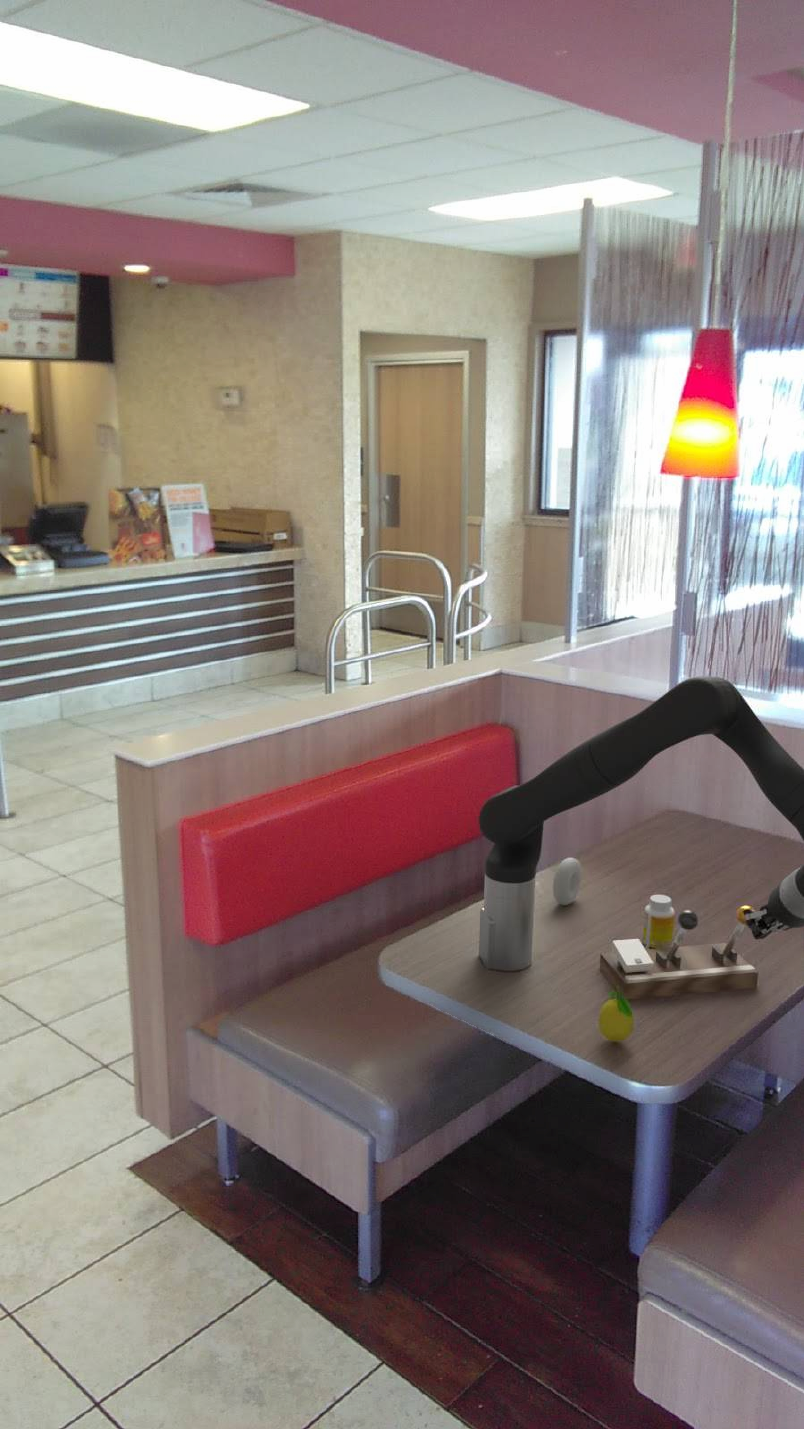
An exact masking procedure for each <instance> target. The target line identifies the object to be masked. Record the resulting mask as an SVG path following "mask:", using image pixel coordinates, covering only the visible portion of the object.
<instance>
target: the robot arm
mask: <svg viewBox="0 0 804 1429" xmlns="http://www.w3.org/2000/svg"><path fill="white" fill-rule="evenodd" d="M703 735H704V736H706V735H712V736H715V738H717V739H719V740H720V741H721V742H722V743H724V744H725V745H727V747H729V748H730V749H731V750H732V751H733V752H734V753H735V754H736V755H737V756H738V757H739V758H740V759H741V760H742V762H743V763H744V764H745V766H746V767H747V769H748V770H749V772H750V773H751V775H752V777H753V779H754V780H755V782H756V784H757V785H758V787H759V789H760V790H761V791H762V793H763V795H764V796H765V797H766V798H767V799H768V801H769V802H770V803H771V804H772V805H773V807H775V808H776V810H778V812H779V813H780V814H781V815H782V816H783V817H784V818H785V819H786V820H787V821H788V822H789V823H790V824H791V825H792V826H793V827H794V828H795V829H796V830H797V832H798V834H799V835H800V837H801V839H802V840H803V842H804V768H803V767H802V765H800V764H799V763H798V762H797V761H796V760H795V759H794V757H792V756H791V754H789V753H788V752H787V751H786V750H785V749H784V747H783V746H782V745H781V744H780V743H779V742H778V740H776V738H775V737H774V736H773V735H772V733H771V732H769V730H768V729H767V728H766V726H765V725H764V724H763V722H762V721H761V720H760V719H759V717H758V716H757V715H756V713H755V712H754V710H753V709H752V708H751V706H750V705H749V704H748V702H747V701H746V700H745V698H744V697H743V695H742V694H741V692H740V691H739V690H738V689H737V688H736V687H735V685H733V683H732V682H730V681H729V680H727V679H725V678H723V677H719V676H708V675H707V676H706V675H705V676H704V675H703V676H701V675H700V676H699V675H698V676H697V675H695V676H693V677H688V678H686V679H684V680H683V681H681V682H679V683H678V684H676V685H674V687H672V688H671V689H669V690H668V691H666V693H664V694H662V696H660V697H659V698H657V699H656V700H655V701H653V703H651V704H650V705H648V706H647V707H646V708H644V709H642V710H641V711H640V712H638V713H636V714H634V715H633V716H631V717H629V718H626V719H625V720H622V721H621V722H618V723H617V724H614V725H613V726H611V727H609V728H607V729H606V730H603V731H601V732H599V733H597V734H595V735H594V736H592V737H591V738H589V739H588V740H586V741H584V742H582V743H580V744H579V745H577V746H576V747H574V748H572V749H571V750H570V751H568V752H566V754H565V753H564V755H562V756H561V757H560V758H557V760H556V761H555V762H553V763H551V764H550V765H549V766H548V767H546V768H545V769H544V770H542V771H541V772H539V774H537V775H536V776H535V777H532V778H531V779H530V780H528V781H527V782H524V783H522V784H521V785H513V786H511V787H507V788H506V789H503V790H502V791H500V792H498V793H497V794H494V795H492V796H491V797H490V798H488V799H486V801H485V802H484V804H483V805H482V807H481V809H480V810H479V815H478V826H479V830H480V832H481V834H482V835H483V836H484V837H485V838H486V839H487V840H488V841H490V842H492V843H493V846H492V848H491V850H490V852H489V853H488V855H487V856H486V859H485V865H484V888H483V889H484V892H483V893H484V894H483V907H481V908H480V911H479V937H478V939H479V941H478V956H479V958H480V959H481V961H482V962H483V964H484V966H485V967H486V969H487V970H498V971H505V972H515V971H521V970H525V969H526V968H528V967H530V965H531V963H532V960H533V959H532V958H533V957H532V956H533V940H534V939H533V936H534V916H535V914H534V913H535V894H536V893H535V892H536V873H537V866H538V864H539V861H540V858H541V856H542V855H541V854H542V844H543V834H544V822H545V821H547V820H549V819H551V818H552V817H554V816H556V815H559V814H561V813H563V812H565V811H569V810H571V809H573V808H576V807H578V806H581V805H583V804H585V803H587V802H588V803H589V802H590V801H592V800H594V799H596V798H598V797H601V796H603V795H605V794H607V793H608V792H610V791H612V790H614V789H615V788H618V787H620V786H622V785H624V784H625V783H627V781H629V780H631V779H632V778H633V777H635V776H636V775H637V774H638V773H640V771H642V770H643V768H645V766H646V765H647V764H648V763H649V762H651V760H652V759H653V758H654V757H655V756H657V755H658V754H660V753H662V752H663V751H665V750H667V749H669V748H672V747H674V746H675V745H678V744H680V743H682V742H685V741H687V740H690V739H692V738H695V737H699V736H703ZM754 910H755V909H754ZM754 910H753V911H751V910H750V909H746V910H744V911H743V914H744V917H745V920H746V924H747V925H746V926H747V927H748V928H749V929H750V930H751V934H752V937H753V938H754V939H755V940H764V939H765V938H767V937H768V936H769V935H771V934H772V933H777V932H779V931H780V930H782V931H788V930H791V929H797V928H798V929H799V928H804V864H802V866H800V867H799V868H797V869H795V870H794V871H792V872H790V874H789V875H788V876H786V877H785V878H784V879H783V880H782V881H780V883H778V884H777V885H776V886H774V888H773V889H772V890H771V891H770V893H769V896H768V901H767V903H766V904H763V905H762V906H760V907H759V910H757V911H756V910H755V911H756V912H755V911H754Z"/></svg>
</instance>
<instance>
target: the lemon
mask: <svg viewBox="0 0 804 1429" xmlns="http://www.w3.org/2000/svg"><path fill="white" fill-rule="evenodd" d="M616 991H617V992H616ZM614 997H615V998H614ZM604 1002H605V1003H604V1004H603V1006H602V1007H601V1009H600V1012H599V1017H598V1018H599V1019H598V1027H599V1030H600V1032H601V1034H602V1036H603V1037H604V1038H606V1039H608V1040H609V1041H612V1042H614V1043H618V1042H621V1041H624V1040H626V1039H628V1038H629V1037H630V1035H631V1033H632V1031H633V1028H634V1020H635V1018H634V1017H635V1016H634V1012H633V1010H632V1007H631V1004H630V1003H629V1001H628V1000H627V999H626V998H625V997H624V995H622V994H620V992H619V986H618V988H617V989H616V990H611V992H610V993H609V995H608V997H607V999H606V1000H605V1001H604Z"/></svg>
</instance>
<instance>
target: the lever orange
mask: <svg viewBox="0 0 804 1429" xmlns="http://www.w3.org/2000/svg"><path fill="white" fill-rule="evenodd" d="M746 909H750V910H751V911H753V910H754V911H755V912H757V911H756V910H755V908H754V907H753V906H751V905H742V906H740V907H738V909H737V911H736V919H737V921H738V923H737V925H736V927H735V928H734V930H733V931H732V934H731V935H730V937H729V940H728V941H727V942H726V943H727V945H726V947H725V949H724V950H723V953H724V956H725V957H728V956H729V954H730V952H731V950H732V949H734V947H735V945H736V943H737V941H738V940H739V938H740V935H741V934H742V932H743V930H744V928H745V927H746V926H747V924H746V920H745V917H744V914H743V911H744V910H746Z"/></svg>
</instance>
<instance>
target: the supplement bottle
mask: <svg viewBox="0 0 804 1429" xmlns="http://www.w3.org/2000/svg"><path fill="white" fill-rule="evenodd" d="M648 903H649V904H648V905H646V906H645V908H644V915H643V916H644V917H643V929H642V930H643V931H642V945H643V947H644V948H645V950H647V949H659V948H671V946H672V944H673V942H674V940H673V939H674V926H675V913H676V912H675V910H674V908H673V907H672V899H671V898H670V897H669V896H668V895H665V894H653V895H651V896H650V898H649V902H648Z"/></svg>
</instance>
